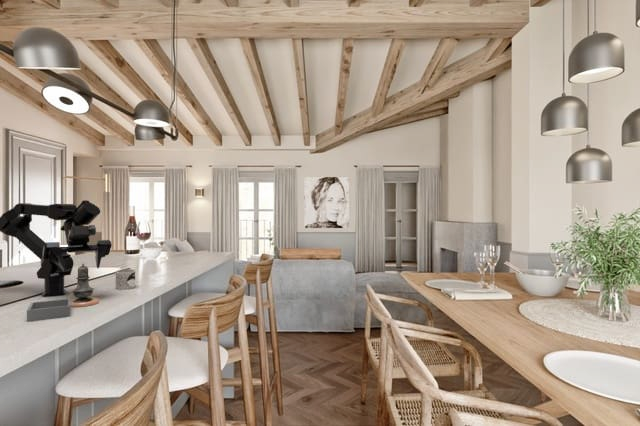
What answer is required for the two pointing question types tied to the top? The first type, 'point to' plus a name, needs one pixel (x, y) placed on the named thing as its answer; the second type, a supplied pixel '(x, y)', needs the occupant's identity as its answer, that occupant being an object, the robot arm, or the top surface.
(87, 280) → the grey tall domed piece
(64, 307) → the tub
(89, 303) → the coaster
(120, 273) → the grey speckled block
